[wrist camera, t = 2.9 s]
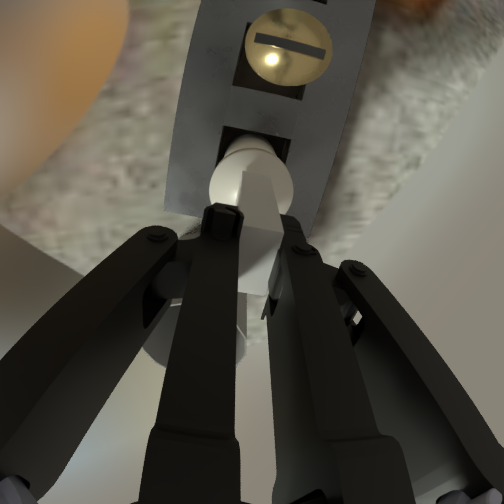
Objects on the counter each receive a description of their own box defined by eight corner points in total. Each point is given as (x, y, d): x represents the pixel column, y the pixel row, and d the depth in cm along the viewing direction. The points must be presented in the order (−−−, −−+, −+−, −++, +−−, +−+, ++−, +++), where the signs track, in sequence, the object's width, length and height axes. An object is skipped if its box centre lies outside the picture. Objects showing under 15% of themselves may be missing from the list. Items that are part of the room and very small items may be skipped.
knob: (227, 125, 21) (217, 143, 15) (285, 137, 22) (303, 162, 15) (216, 179, 24) (203, 222, 17) (271, 190, 24) (281, 236, 18)
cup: (256, 243, 28) (260, 317, 20) (237, 306, 32) (234, 383, 24) (168, 224, 27) (136, 292, 18) (161, 291, 31) (137, 364, 23)
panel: (233, -71, 12) (231, -87, 10) (371, -36, 14) (384, -47, 11) (171, 197, 26) (163, 211, 23) (302, 222, 27) (308, 237, 25)
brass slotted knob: (252, 28, 16) (255, -2, 9) (310, 42, 16) (342, 21, 10) (240, 79, 18) (236, 75, 11) (297, 92, 18) (323, 96, 12)
